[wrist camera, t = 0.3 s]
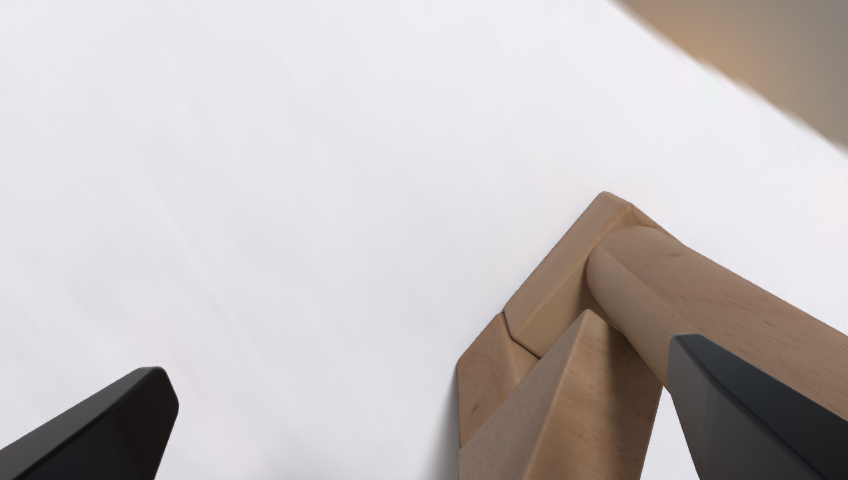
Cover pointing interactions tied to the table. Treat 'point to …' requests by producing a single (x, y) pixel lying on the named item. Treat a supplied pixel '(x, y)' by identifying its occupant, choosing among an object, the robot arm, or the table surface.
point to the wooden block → (618, 350)
